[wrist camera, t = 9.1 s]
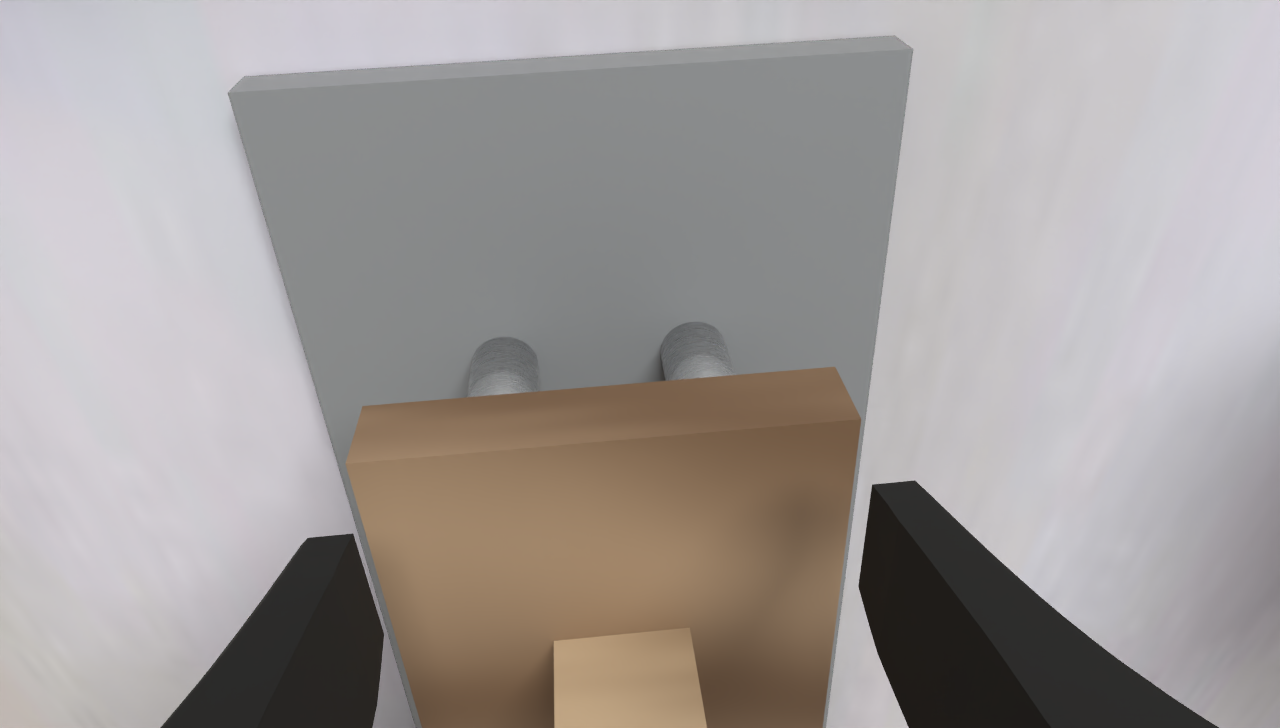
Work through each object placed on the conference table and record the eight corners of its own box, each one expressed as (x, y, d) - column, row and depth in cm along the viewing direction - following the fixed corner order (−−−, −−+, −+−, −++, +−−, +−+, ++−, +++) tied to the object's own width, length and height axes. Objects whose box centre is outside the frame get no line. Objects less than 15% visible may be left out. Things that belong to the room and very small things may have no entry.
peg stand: (894, 35, 17) (996, 108, 13) (812, 736, 29) (852, 879, 25) (244, 76, 16) (151, 166, 12) (442, 776, 28) (426, 928, 24)
